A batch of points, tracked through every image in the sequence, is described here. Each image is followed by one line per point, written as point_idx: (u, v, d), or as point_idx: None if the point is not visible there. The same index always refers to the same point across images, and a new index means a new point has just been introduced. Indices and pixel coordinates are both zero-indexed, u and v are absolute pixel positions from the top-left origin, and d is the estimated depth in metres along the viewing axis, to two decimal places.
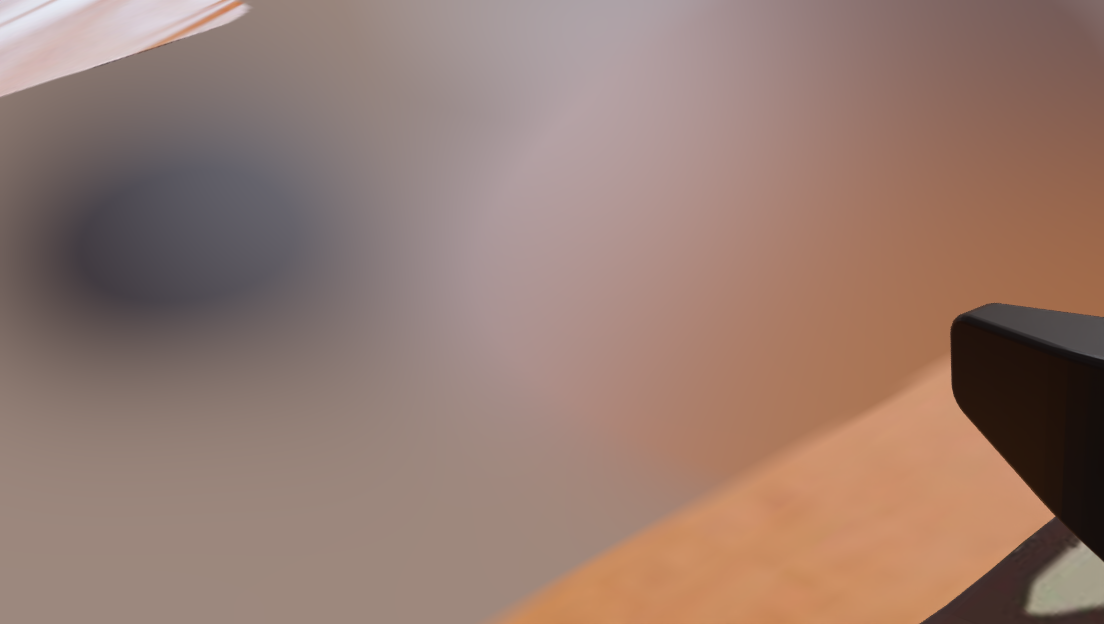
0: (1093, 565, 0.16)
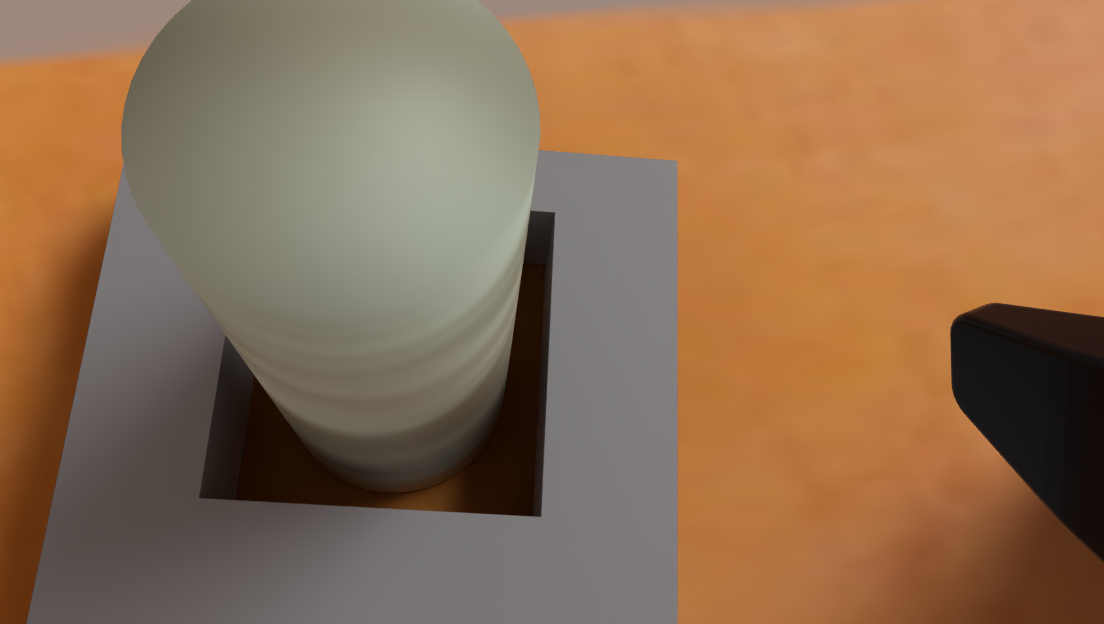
0: None
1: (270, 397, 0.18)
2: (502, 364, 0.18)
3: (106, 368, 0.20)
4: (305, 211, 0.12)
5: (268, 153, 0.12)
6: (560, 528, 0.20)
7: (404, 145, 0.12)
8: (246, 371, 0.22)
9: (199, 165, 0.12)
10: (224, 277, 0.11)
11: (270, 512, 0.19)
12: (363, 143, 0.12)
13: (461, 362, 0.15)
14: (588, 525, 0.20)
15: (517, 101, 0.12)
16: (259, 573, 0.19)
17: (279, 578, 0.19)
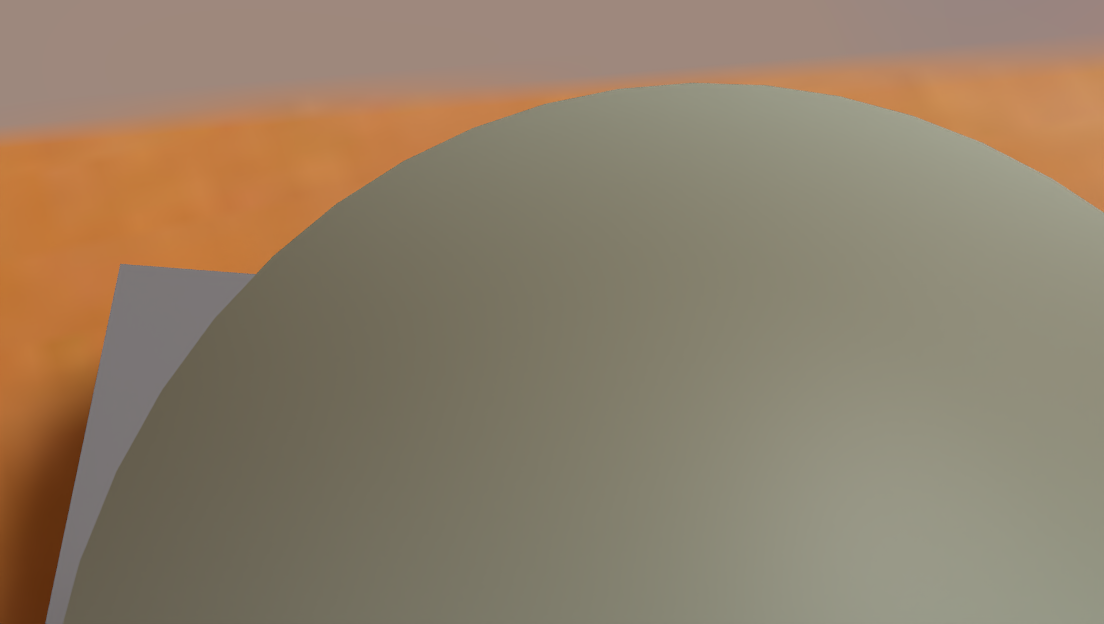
0: None
1: None
2: None
3: None
4: None
5: None
6: None
7: None
8: None
9: None
10: None
11: None
12: None
13: None
14: None
15: None
16: None
17: None
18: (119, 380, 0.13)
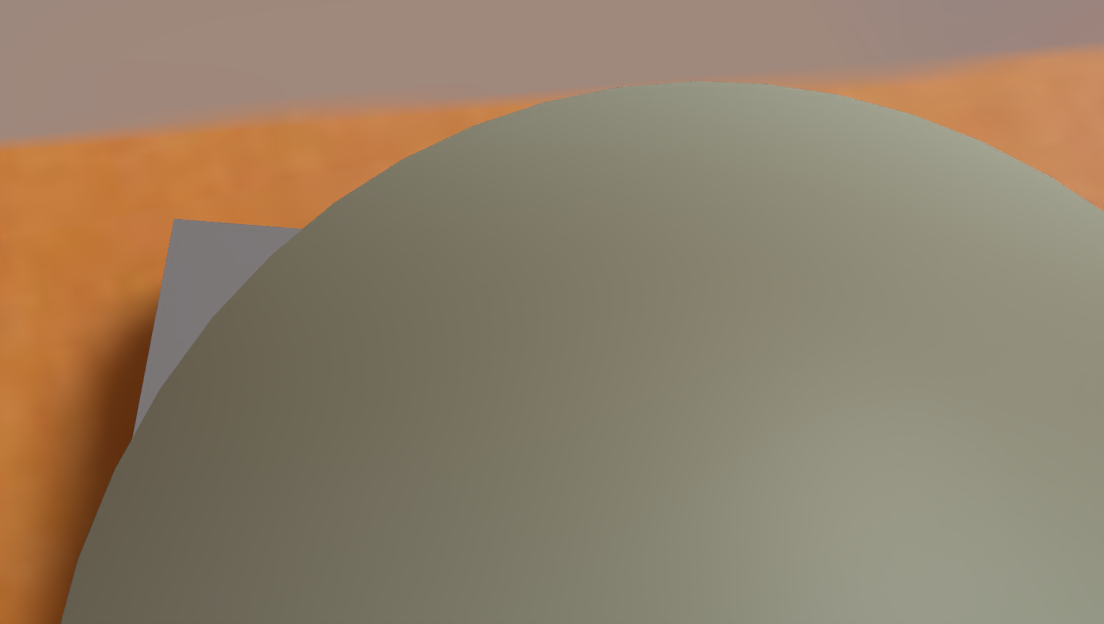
0: None
1: None
2: None
3: None
4: None
5: None
6: None
7: None
8: None
9: None
10: None
11: None
12: None
13: None
14: None
15: None
16: None
17: None
18: (174, 290, 0.20)
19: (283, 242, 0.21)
